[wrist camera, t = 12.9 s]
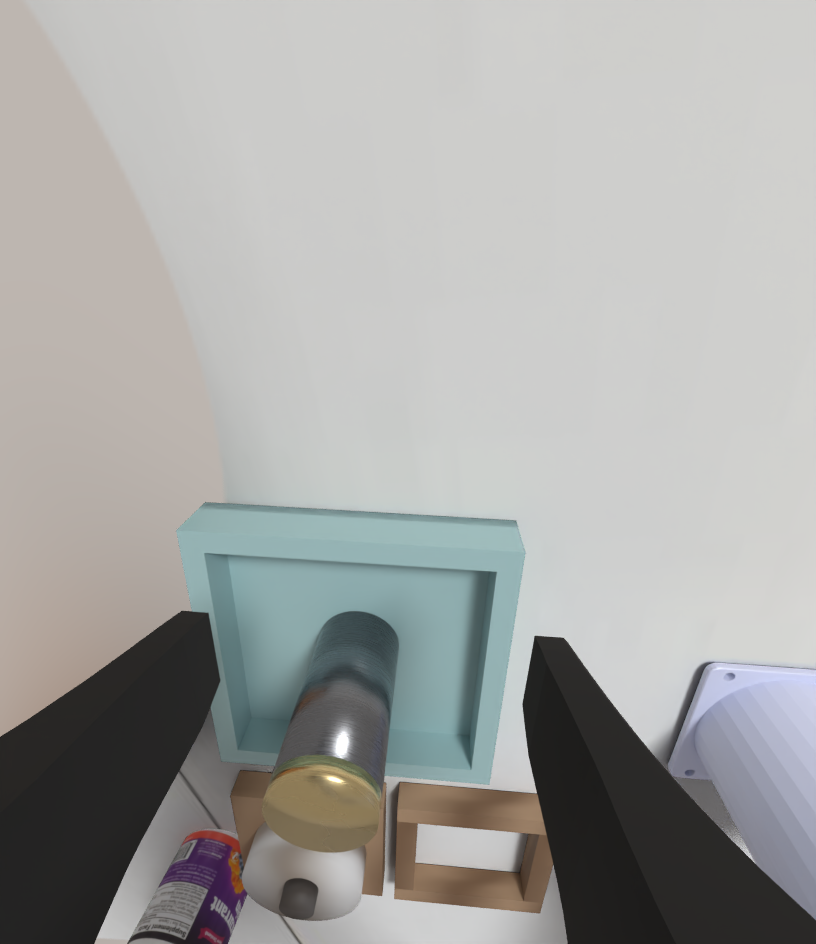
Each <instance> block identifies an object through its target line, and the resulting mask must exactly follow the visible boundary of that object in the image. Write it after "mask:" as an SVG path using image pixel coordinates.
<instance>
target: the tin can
mask: <svg viewBox="0 0 816 944" xmlns="http://www.w3.org/2000/svg"><path fill="white" fill-rule="evenodd" d="M398 653H399V640H398V637H397V634H396V632H395V631H394V629H393V628H392V627H391V626H390V625H389V624H388V623H387V622H386V621H385V620H383V619H382V618H380V617H378V616H376V615H374V614H371V613H367V612H362V611H348V612H343V613H340V614H337V615H335V616H333V617H332V618H330V619H329V620H328V621H327V622H326V623H325V624H324V625H323V627H322V629H321V631H320V634H319V637H318V640H317V643H316V646H315V649H314V652H313V654H312V657H311V660H310V663H309V666H308V669H307V672H306V675H305V678H304V681H303V684H302V687H301V690H300V693H299V696H298V699H297V702H296V705H295V708H294V711H293V714H292V717H291V719H290V722H289V725H288V728H287V731H286V734H285V737H284V740H283V743H282V746H281V749H280V752H279V755H278V758H277V761H276V764H275V767H274V770H273V773H272V776H271V779H270V782H269V784H268V787H267V790H266V793H265V796H264V799H263V803H262V815H263V818H264V820H265V822H266V823H267V825H268V826H269V828H270V829H271V830H272V831H273V832H274V833H275V834H277V835H278V836H279V837H280V838H282V839H284V840H285V841H287V842H289V843H291V844H293V845H295V846H298V847H301V848H304V849H307V850H311V851H317V852H326V853H337V852H345V851H350V850H354V849H357V848H359V847H361V846H363V845H365V844H367V843H368V842H369V841H370V840H371V839H372V838H373V837H374V836H375V834H376V833H377V830H378V826H379V818H380V810H381V801H382V792H383V783H384V775H385V766H386V757H387V749H388V740H389V731H390V723H391V714H392V705H393V696H394V688H395V679H396V670H397V662H398Z"/></svg>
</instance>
